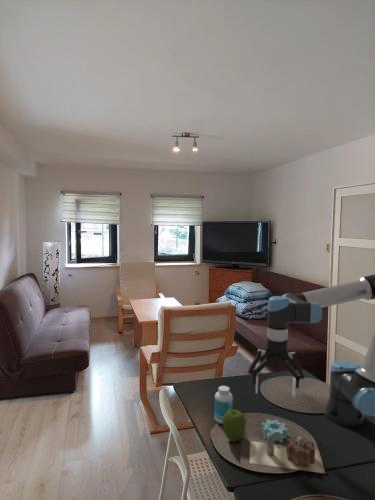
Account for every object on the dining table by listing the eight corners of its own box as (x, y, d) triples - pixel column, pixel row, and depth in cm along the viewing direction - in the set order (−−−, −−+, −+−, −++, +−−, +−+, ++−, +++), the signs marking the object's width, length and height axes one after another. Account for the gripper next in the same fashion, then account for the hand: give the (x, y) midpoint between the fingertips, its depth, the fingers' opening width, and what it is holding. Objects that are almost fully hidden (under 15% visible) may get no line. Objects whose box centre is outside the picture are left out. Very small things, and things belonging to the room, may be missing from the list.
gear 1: (282, 431, 135) (283, 419, 135) (289, 446, 126) (289, 433, 126) (259, 431, 135) (260, 419, 135) (264, 446, 126) (265, 433, 126)
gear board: (318, 453, 123) (319, 430, 122) (325, 477, 111) (326, 452, 110) (249, 444, 127) (250, 422, 127) (249, 467, 115) (250, 442, 115)
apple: (229, 449, 124) (230, 419, 123) (218, 436, 132) (218, 407, 131) (249, 444, 128) (250, 414, 127) (237, 431, 135) (238, 403, 134)
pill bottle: (231, 425, 139) (232, 393, 138) (213, 423, 140) (213, 391, 139) (232, 415, 146) (233, 385, 145) (215, 413, 148) (216, 383, 147)
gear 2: (311, 451, 122) (312, 437, 121) (316, 468, 113) (317, 454, 112) (285, 447, 123) (286, 434, 123) (288, 464, 114) (288, 450, 114)
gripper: (310, 337, 129) (308, 392, 131) (243, 332, 134) (241, 385, 136) (314, 344, 122) (311, 402, 124) (242, 339, 127) (241, 394, 128)
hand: (275, 393), depth 130 cm, fingers open, 13 cm apart
